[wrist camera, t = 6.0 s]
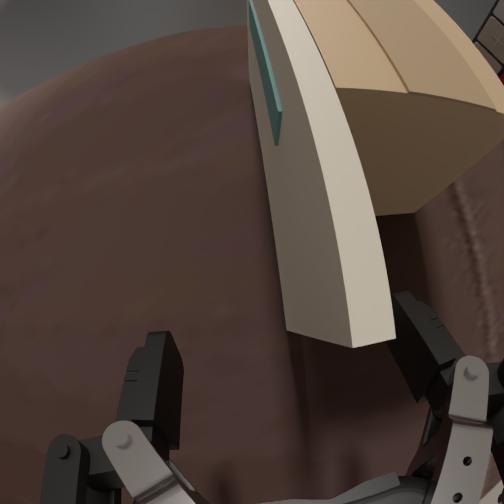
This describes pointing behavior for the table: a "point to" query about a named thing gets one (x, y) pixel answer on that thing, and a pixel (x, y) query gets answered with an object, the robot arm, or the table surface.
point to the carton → (407, 94)
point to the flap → (315, 187)
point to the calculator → (493, 39)
